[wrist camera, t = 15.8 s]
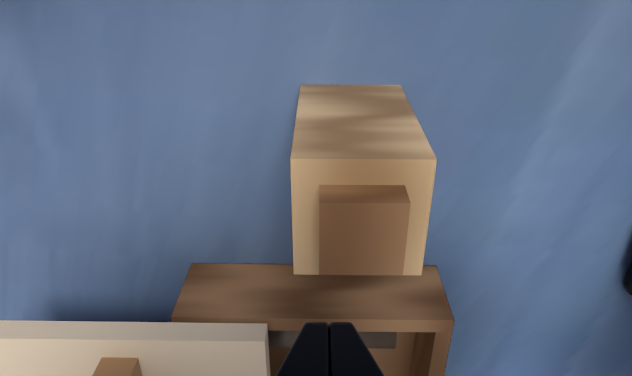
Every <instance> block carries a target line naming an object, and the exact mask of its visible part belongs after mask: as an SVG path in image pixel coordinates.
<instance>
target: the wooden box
mask: <svg viewBox="0 0 632 376" xmlns="http://www.w3.org/2000/svg"><path fill="white" fill-rule="evenodd" d="M309 321H314V322H327V323H328V325H329V324H330V323H331V322H351V323H352V324H353V325H354V326H355V328H356V329H357V331H358V333H359V334H360V336H361V338H362V339H363V341H364V343H365V344H366V346H367V348H368V349H369V351H370V353H371V354H372V356H373V357H374V359H375V361H376V362H377V364H378V366H379V367H380V369H381V371H382V372H383V374H384V376H444V373H445V367H446V362H447V357H448V352H449V346H450V341H451V336H452V330H453V325H454V318H453V315H452V312H451V309H450V306H449V303H448V300H447V297H446V294H445V291H444V288H443V285H442V282H441V279H440V276H439V273H438V270H437V267H436V266H423V268H422V275H302V274H294V269H293V264H199V263H192V264H191V266H190V269H189V271H188V274H187V277H186V279H185V282H184V284H183V287H182V289H181V292H180V294H179V297H178V300H177V302H176V305H175V307H174V310H173V312H172V315H171V322H183V323H267V327H268V343H269V360H270V376H276V374H277V372H278V370H279V368H280V367H281V365H282V363H283V361H284V360H285V358H286V356H287V354H288V352H289V351H290V349H291V347H292V345H293V344H294V342H295V340H296V338H297V336H298V335H299V333H300V331H301V329H302V328H303V326H304V324H305V323H306V322H309Z"/></svg>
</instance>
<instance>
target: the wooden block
mask: <svg viewBox="0 0 632 376" xmlns="http://www.w3.org/2000/svg"><path fill="white" fill-rule="evenodd" d="M290 162H291V198H292V234H293V269H294V274H302V275H422V268H423V260H424V253H425V245H426V238H427V230H428V223H429V215H430V208H431V200H432V193H433V185H434V178H435V171H436V163H437V159H436V157H435V155H434V153H433V150H432V148H431V146H430V144H429V142H428V140H427V138H426V136H425V134H424V132H423V130H422V128H421V126H420V124H419V122H418V120H417V118H416V116H415V114H414V112H413V110H412V108H411V106H410V104H409V102H408V100H407V98H406V95H405V93H404V91H403V89H402V87H401V85H301V86H300V93H299V100H298V107H297V115H296V122H295V129H294V136H293V144H292V151H291V158H290Z"/></svg>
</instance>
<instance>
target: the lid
mask: <svg viewBox="0 0 632 376" xmlns="http://www.w3.org/2000/svg"><path fill="white" fill-rule="evenodd" d="M0 376H270V360H269V343H268V327H267V323H183V322H94V321H6V320H0Z"/></svg>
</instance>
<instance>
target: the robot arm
mask: <svg viewBox="0 0 632 376" xmlns="http://www.w3.org/2000/svg"><path fill="white" fill-rule="evenodd" d="M623 286H624V288H625V289H626V291H627V292H628V293H629V294H630V295H632V263H631V265H630V268H629V270H628V273H627V276H626V278H625V281H624V284H623ZM276 376H384V374H383V372H382V371H381V369H380V367H379V366H378V364H377V362H376V361H375V359H374V357H373V356H372V354H371V353H370V351H369V349H368V348H367V346H366V344H365V343H364V341H363V339H362V338H361V336H360V334H359V333H358V331H357V329H356V328H355V326H354V325H353V324H352V323H351V322H331V323H330V324H329V325H328V323H327V322H314V321H309V322H306V323H305V324H304V326H303V328H302V329H301V331H300V333H299V335H298V336H297V338H296V340H295V342H294V344H293V345H292V347H291V349H290V351H289V352H288V354H287V356H286V358H285V360H284V361H283V363H282V365H281V367H280V368H279V370H278V372H277V374H276Z"/></svg>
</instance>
